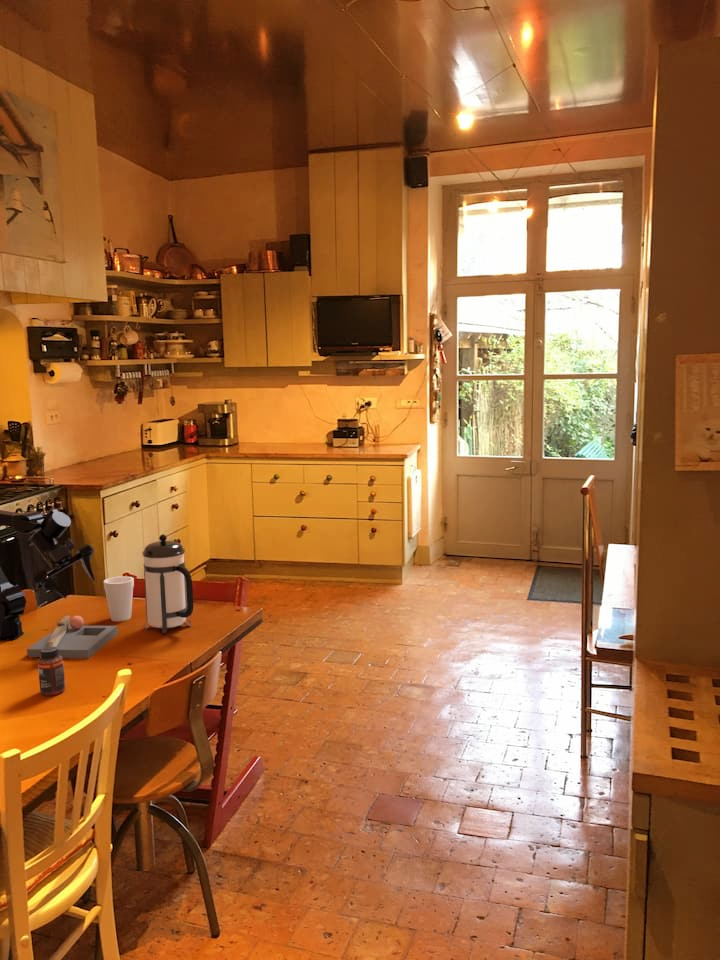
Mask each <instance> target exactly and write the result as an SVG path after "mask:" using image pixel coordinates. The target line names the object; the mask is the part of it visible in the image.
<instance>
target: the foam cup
mask: <svg viewBox="0 0 720 960" xmlns="http://www.w3.org/2000/svg"><path fill="white" fill-rule="evenodd" d="M134 579H135V578H134V577H132V576H125V575H124V576H121V575H120V576H113V577H109V578H106V579H104V580H103V590H104V591H105V596H106V602H107V607H108V611H109V616H110V620H111V621H112V622H125V621H128V620H130V619H131V618H132V607H133V596H134V593H133V592H134V587H135V580H134Z"/></svg>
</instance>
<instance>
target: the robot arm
mask: <svg viewBox="0 0 720 960" xmlns="http://www.w3.org/2000/svg"><path fill="white" fill-rule="evenodd" d="M71 524H72V520H71V518H70V516H69V515H68V514H65V513H64V512H61V511H59V510H58V509H57V508H54V509H50V510H49V512H48V514H47V515H43V514H42V513H41V512H40V511H27V512H14V511H9V510H3V509H0V526H5V527H9V528H12V529H13V531H14V532H17V533H20V534H22V535H27V534H30V533H33V532H34V533H33V534H32V535H29V536H28V537H27V541H26V546H27V547H30V546H33V545H34V546H35V548H36V549H37V551H38V553H39V554H40V555H41V556H42V557H43V560H44V561H46V563H47V565H48V566H49V567H50V569H49V570H47V571H46V570H45V569H42V570H40V571H38V572H36V573H34V574H32V576H31V584H32V586H33V588H34V589H35V590H36V591H38V590H39V589H41V590H45V589H46V590H48V591H50V592H53V593H55V594H56V595H58V596H60V597H62V598H64V599H67V595H66V594H65V592H64V591H63V590H62V589H61V588H60V587H59V586H58V584H57V583H56V582H55V581H54V579H53V578H52V577H53V576H55V575H57V574H58V573H60V572H61V571H63V570H65V569H66V568H68V567H70V566H72V565H74V564H75V563H78V562H80V565H81V567H82V568H83V570H84V572H85V573H86V574H87V575H88V577H89V578H90V580H91V581H92V582H95V576H94V573H93V569H92V566H91V560H92V557H94V554H95V553H94V552H95V549H94V547H93V546H92V545H91V544H87V543H86V544H85V545H83V546H81V547H80V548H78V549H77V550H76V554H74V555H73V556H72V557H71V554H72V552H71V550H73V549H75V548H76V546H75V544H74V542H73V541H72V540H71V539H70V538H67V539H65V540H64V541H62V544H63V545H62V544H61V543H60V542H58V540H57V539H58V538H60V537H61V536H62V535H63V534H64V532H65V531H66V530H67V529H68V527H70V525H71ZM26 604H27V598H26V594H25V593H24V591H23V590H22V587H21V585H19V584H16V585H13V584H11V583H10V581H9V580H8V578H7V577H6V574H5V573H4V571H3V570H2V567H0V641H14V640H16V639H18V638H19V637H20V636H22V635H23V634H25V633H24V631H23V626H22V625H23V623H22V620H21V615H24V614H25V609H26Z"/></svg>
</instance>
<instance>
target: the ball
mask: <svg viewBox="0 0 720 960" xmlns="http://www.w3.org/2000/svg"><path fill="white" fill-rule="evenodd" d="M70 626H71V627H72V628H73V629H79V628H81V627H82V626H84V619H83V617H82V616H80V615H74V616H72V617H71V618H70Z"/></svg>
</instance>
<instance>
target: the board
mask: <svg viewBox="0 0 720 960" xmlns="http://www.w3.org/2000/svg"><path fill="white" fill-rule="evenodd" d="M54 631H55V629H54V630H52V631H51V632H50V633H48V634H47V635H45V636H43V637H42V638H40V640H38V641H37V642H35V643H34V644H32V645H30V646H28V648H27V649H26V655H27V656H28V657H41V650H42V649H43V648H46V647H47V642H48V640H49V639H50V637H51V636H52V634H53V632H54ZM118 634H119V631H118V625H83V626H82V627H81V628H79V629H73V628H72V627H71V626H69V628H68V629H67V631H66V633H65V634H64V636H63V637H62V639H61V641H60V642H59V644H58V646H57V648H58V654H59V655H61V656H62V658H63V659H89V658H91V657H92V656H93V655H94V654H95V653H97V652H98V651H100V649H101V648H103V647H104V646H105V645H106V644H107V643H109V642H110V641H111V640H112V639H113V638H115V637H116V636H117V635H118ZM27 656H26V657H27Z"/></svg>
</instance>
